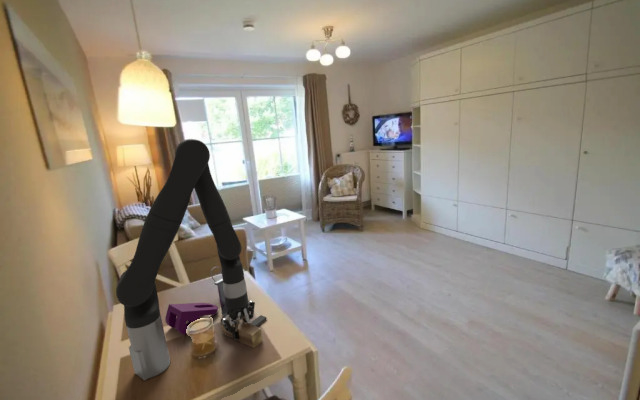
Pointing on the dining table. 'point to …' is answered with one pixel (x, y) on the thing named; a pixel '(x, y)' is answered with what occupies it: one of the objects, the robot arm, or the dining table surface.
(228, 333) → the brown wooden block
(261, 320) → the far saddle
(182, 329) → the mounting bracket
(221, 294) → the cup bracket
